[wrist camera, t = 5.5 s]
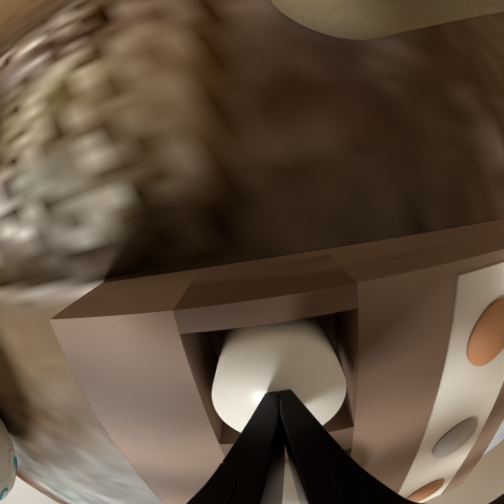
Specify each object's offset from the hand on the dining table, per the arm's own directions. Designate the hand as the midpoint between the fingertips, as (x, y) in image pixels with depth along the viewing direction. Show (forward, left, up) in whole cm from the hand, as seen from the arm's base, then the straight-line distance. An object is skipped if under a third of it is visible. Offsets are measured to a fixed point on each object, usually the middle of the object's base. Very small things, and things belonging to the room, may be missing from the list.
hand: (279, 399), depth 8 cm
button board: (-7, -3, -5) cm, 9 cm away
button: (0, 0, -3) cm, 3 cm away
